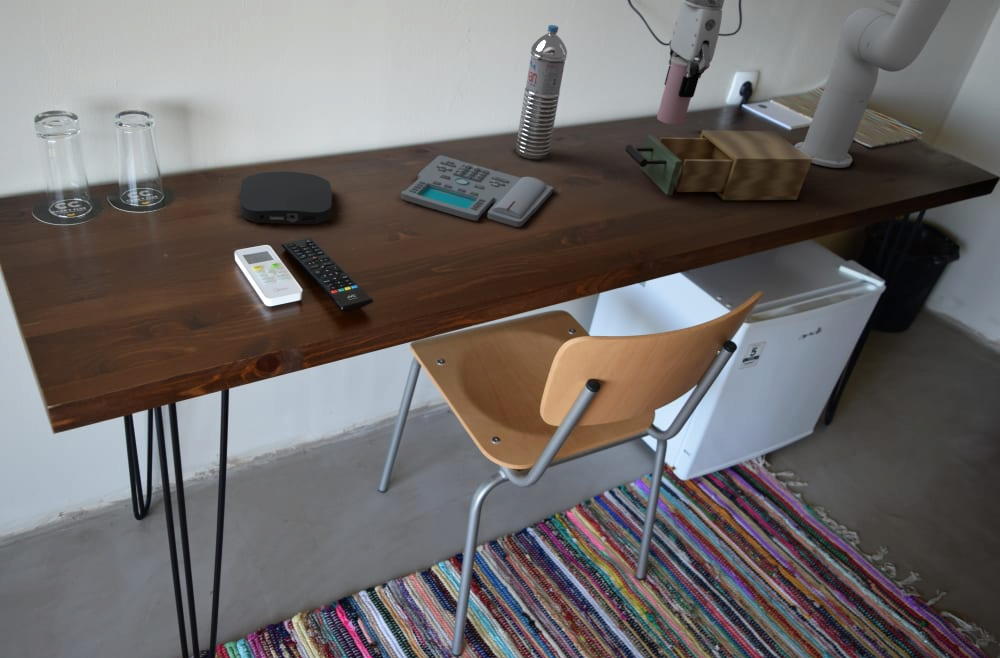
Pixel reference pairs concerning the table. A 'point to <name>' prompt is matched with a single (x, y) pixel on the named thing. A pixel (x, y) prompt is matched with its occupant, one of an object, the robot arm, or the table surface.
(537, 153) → the water bottle
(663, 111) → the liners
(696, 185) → the drawer
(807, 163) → the wood-grain box
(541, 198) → the office telephone
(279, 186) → the media streaming box
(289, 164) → the table surface
